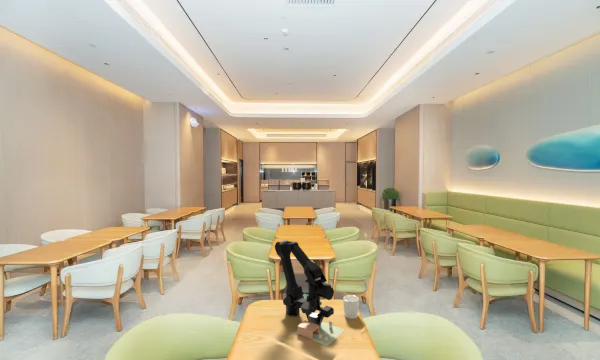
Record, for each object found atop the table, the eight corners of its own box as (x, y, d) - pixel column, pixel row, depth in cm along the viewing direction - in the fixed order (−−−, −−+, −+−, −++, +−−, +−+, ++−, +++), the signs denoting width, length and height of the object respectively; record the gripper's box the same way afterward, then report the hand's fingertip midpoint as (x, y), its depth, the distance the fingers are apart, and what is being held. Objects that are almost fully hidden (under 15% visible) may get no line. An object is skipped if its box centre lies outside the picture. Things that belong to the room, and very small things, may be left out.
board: (294, 334, 138) (294, 325, 138) (313, 320, 151) (313, 311, 151) (327, 348, 127) (327, 338, 127) (345, 331, 140) (345, 322, 140)
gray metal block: (308, 325, 144) (308, 315, 144) (313, 321, 148) (313, 311, 147) (315, 328, 141) (315, 318, 141) (320, 324, 145) (320, 314, 145)
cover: (297, 333, 137) (297, 325, 137) (305, 327, 142) (305, 320, 142) (311, 339, 132) (311, 331, 132) (319, 333, 137) (319, 325, 137)
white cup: (358, 321, 149) (358, 302, 149) (342, 320, 151) (342, 300, 150) (358, 314, 157) (358, 295, 156) (343, 312, 158) (343, 294, 158)
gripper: (288, 293, 143) (289, 325, 144) (321, 304, 132) (321, 338, 133) (302, 286, 152) (302, 316, 153) (334, 295, 141) (334, 327, 141)
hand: (314, 324), depth 145 cm, fingers open, 5 cm apart
